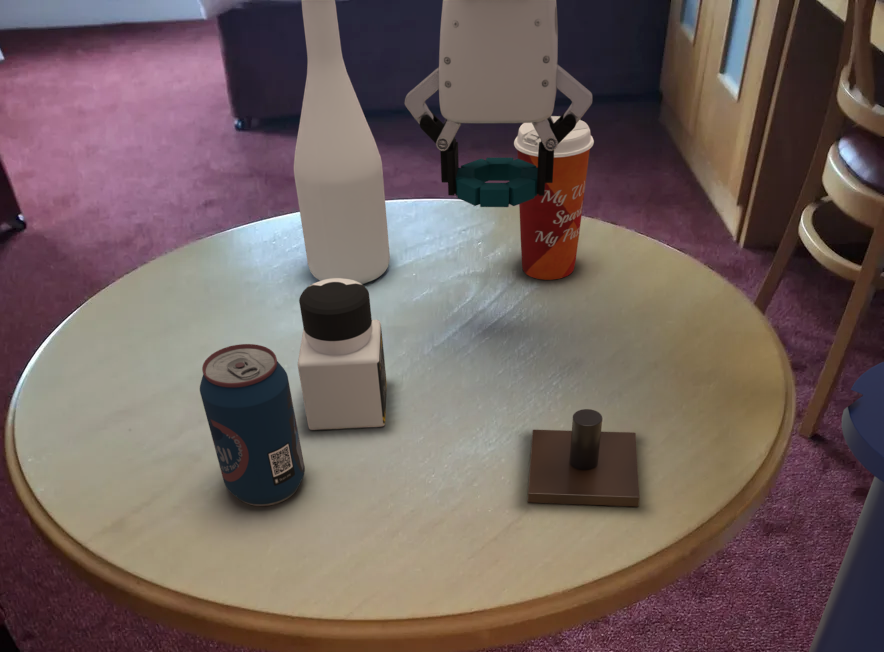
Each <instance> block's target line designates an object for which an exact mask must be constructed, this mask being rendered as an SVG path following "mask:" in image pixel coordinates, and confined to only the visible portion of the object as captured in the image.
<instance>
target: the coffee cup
mask: <svg viewBox="0 0 884 652" xmlns="http://www.w3.org/2000/svg"><path fill="white" fill-rule="evenodd" d="M560 116H561V115H558V116H557V115H551V117H552V119H553V121H554V123H555V122H556V121H557V120H558V119H559V118H560ZM539 142H541V139H540V137H539V135H538V134H537V132H536V130H535V128H534V126H533V124H532V123H521V125H520V127H519V128H518V131H517V136H516V137H515V139H514V141H513V146H514V147H515V149H516V150H517V154H516V155H517V159H521V160H523V161H526V162H528V163H531V164H533V165H536V168H538V150H539ZM594 143H595V140H594V138H593V136H592V133H591V128H590V126H589V125H588V123H587V122H585V121H583V120H581V119H580V120H579V121H578V122H577V124H576V126H575V128H574V129H573V130H572V131H571V132H570V133H569V134H568V135H567V136H566V137H565V138H564V139H563V140H562V141H561V142H560V143H559V144H558V145H557V148H556V149H555V150H554V165H553V183H545V192H544V196H539V194H537V196H535V198H534V199H531V200H529V201H526V202H523V203H521V204H518V206H519V229H520V230H519V233H520V235H519V236H520V251H521V252H520V254H521V268H522V271H523V273H524V274H525V275H526V276H528V277H530V278H533V279H537V280H545V281H552V280H553V281H554V280H558V279H563V278H566V277H568V276H569V275H571V274H572V273H573V272H574V270H575V266H576V261H577V253H578V248H579V247H578V246H579V240H580V230H581V225H582V224H581V222H582V216H583V215H582V214H583V209H584V199H585V191H586V183H587V176H588V175H587V174H588V167H589V158H590V151H591V150H590V149H591V148H593V146H594Z"/></svg>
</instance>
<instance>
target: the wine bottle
mask: <svg viewBox="0 0 884 652" xmlns="http://www.w3.org/2000/svg"><path fill="white" fill-rule="evenodd" d="M301 10H302V11H301V12H302V20H303V29H304V36H305V47H306V55H307V56H306V57H307V65H306V66H307V67H306V68H307V69H306V78H305V86H304V93H303V99H302V105H301V112H300V117H299V125H298V131H297V136H296V143H295V148H294V149H295V150H294V159H293V177H294V182H295V189H296V190H295V191H296V196H297V202H298V209H299V216H300V223H301V228H302V235H303V242H304V248H305V253H306V262H307V266H308V269H309V272H310V273H311V274H312V276H313V277H314V278H315V279H316V280H318V282H319V281H322V280H326V279H332V278H343V279H350V280H354V281H357V282H359V283H361V284H362V285H364V284H367V283H370V282H373V281H374V280H377V279H378V278H380V277H381V276H382V275H384V273H385V272H386V271H387V269H388V268H389V264H390V260H391V254H390V253H391V252H390V243H389V230H388V217H387V207H386V194H385V183H384V173H383V170H384V169H383V161H382V157H381V154H380V151H379V148H378V145H377V143H376V140H375V137H374V135H373V133H372V130H371V128H370V126H369V124H368V121H367V119H366V117H365V114H364V111H363V109H362V106H361V103H360V100H359V99H358V97H357V93H356V91H355V89H354V86H353V84H352V82H351V78H350V76H349V74H348V72H347V69H346V68H347V67H346V65H345V61H344V58H343V52H342V44H341V38H340V37H341V36H340V29H339V22H338V13H337V4H336V0H301Z"/></svg>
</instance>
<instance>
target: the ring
mask: <svg viewBox="0 0 884 652" xmlns="http://www.w3.org/2000/svg"><path fill="white" fill-rule="evenodd" d="M537 172H538V168H536V165H533V164H531V163H528V162H526V161H523V160H521V159H518V158H516V159H514V157H486V158H485V159H483V158H479V159H476V160H473V161H471V162H467V163H465V164H462V165H460V167H459V168H458V171H457V175H456V194H455V196H456V198H457V199H459V200H461V201H462V202H465V203H467V204H470V205H472V206H474V207H476V206H479V207H480V208H509V206H512V207H515V206H519V204H521V203H523V202H526V201H529V200H531V199H534V198H535V196H537ZM494 181H495V182H494ZM506 181H507V182H506Z"/></svg>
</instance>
